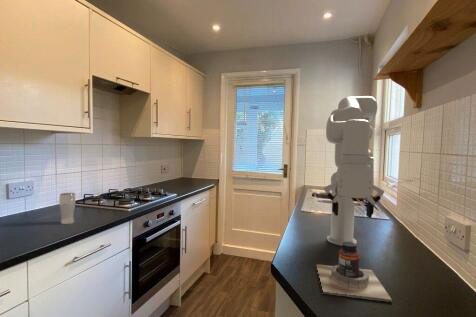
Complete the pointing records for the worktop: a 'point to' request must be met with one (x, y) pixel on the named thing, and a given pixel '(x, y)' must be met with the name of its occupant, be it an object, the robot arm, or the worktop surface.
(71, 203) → the beer glass
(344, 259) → the supplement bottle
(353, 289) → the collar board
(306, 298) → the worktop surface
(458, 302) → the worktop surface
